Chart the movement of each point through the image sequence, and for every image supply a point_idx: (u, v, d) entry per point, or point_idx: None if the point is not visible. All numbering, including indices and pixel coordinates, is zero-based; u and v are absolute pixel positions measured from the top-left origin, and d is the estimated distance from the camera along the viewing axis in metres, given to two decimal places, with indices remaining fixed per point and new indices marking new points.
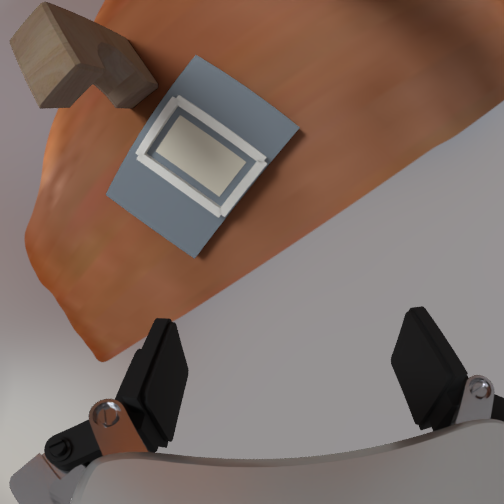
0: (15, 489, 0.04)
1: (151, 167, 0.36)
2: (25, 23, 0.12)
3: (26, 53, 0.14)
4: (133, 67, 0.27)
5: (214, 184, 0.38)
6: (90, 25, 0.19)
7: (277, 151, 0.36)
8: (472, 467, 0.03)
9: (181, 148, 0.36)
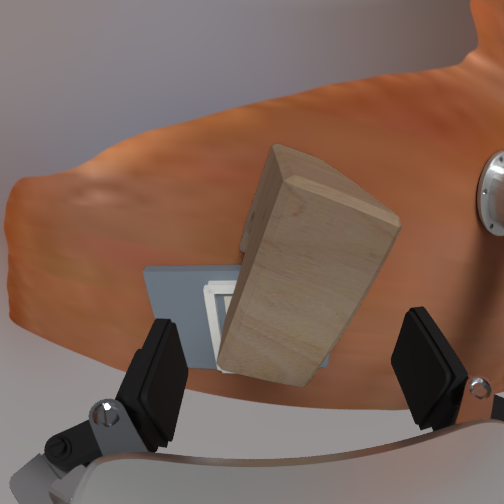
0: (15, 489, 0.04)
1: (208, 307, 0.34)
2: (347, 215, 0.11)
3: (284, 285, 0.12)
4: None
5: None
6: None
7: None
8: (472, 467, 0.03)
9: None
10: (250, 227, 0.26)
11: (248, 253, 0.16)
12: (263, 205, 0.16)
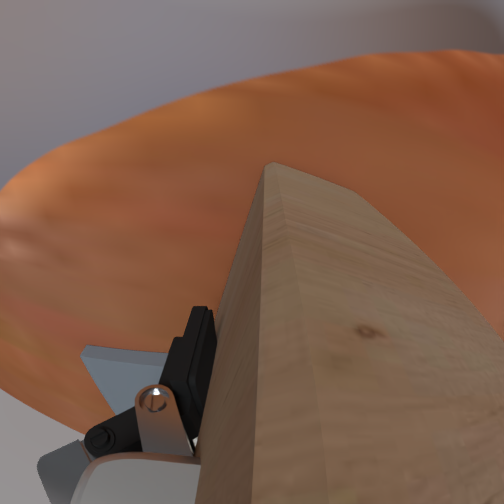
0: (42, 469, 0.05)
1: None
2: None
3: None
4: None
5: None
6: None
7: None
8: None
9: None
10: None
11: None
12: None
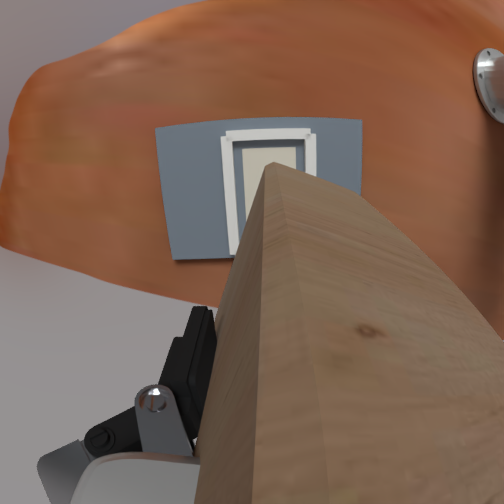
0: (42, 469, 0.05)
1: (224, 159, 0.30)
2: None
3: None
4: None
5: None
6: None
7: None
8: None
9: None
10: None
11: None
12: None
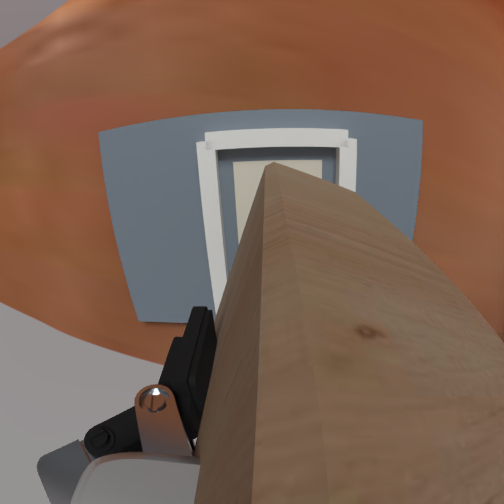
0: (42, 469, 0.05)
1: (203, 180, 0.18)
2: None
3: None
4: None
5: None
6: None
7: None
8: None
9: None
10: None
11: None
12: None
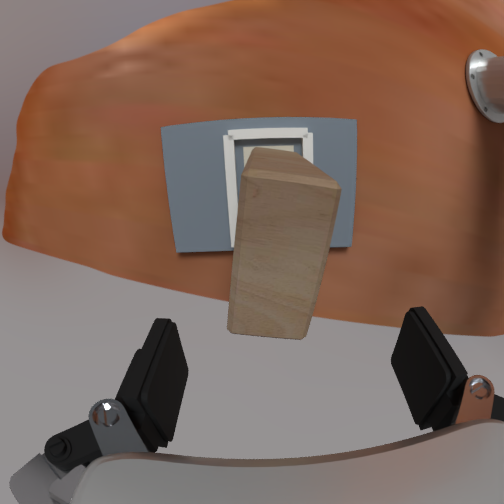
0: (15, 489, 0.04)
1: (226, 156, 0.32)
2: (293, 189, 0.15)
3: (261, 250, 0.16)
4: None
5: None
6: None
7: None
8: (472, 467, 0.03)
9: None
10: None
11: None
12: None
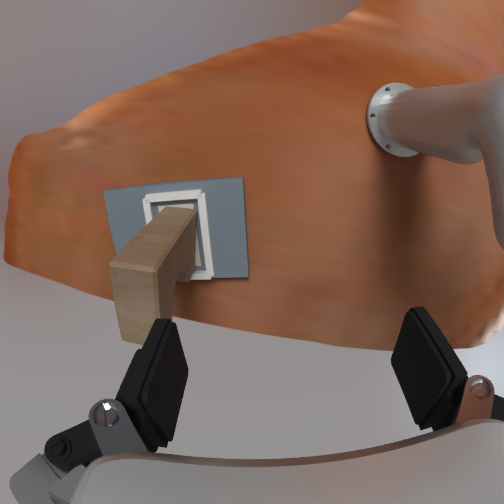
0: (15, 489, 0.04)
1: (146, 214, 0.44)
2: (131, 272, 0.27)
3: (124, 300, 0.28)
4: (186, 270, 0.43)
5: None
6: (177, 251, 0.35)
7: (223, 276, 0.50)
8: (472, 467, 0.03)
9: None
10: None
11: None
12: None
